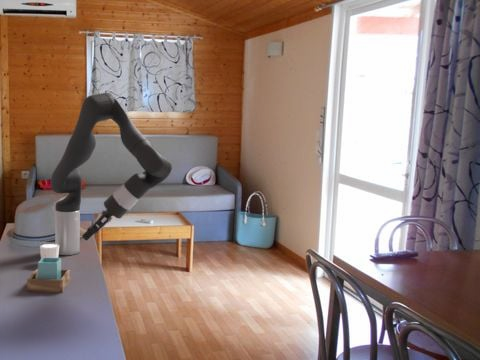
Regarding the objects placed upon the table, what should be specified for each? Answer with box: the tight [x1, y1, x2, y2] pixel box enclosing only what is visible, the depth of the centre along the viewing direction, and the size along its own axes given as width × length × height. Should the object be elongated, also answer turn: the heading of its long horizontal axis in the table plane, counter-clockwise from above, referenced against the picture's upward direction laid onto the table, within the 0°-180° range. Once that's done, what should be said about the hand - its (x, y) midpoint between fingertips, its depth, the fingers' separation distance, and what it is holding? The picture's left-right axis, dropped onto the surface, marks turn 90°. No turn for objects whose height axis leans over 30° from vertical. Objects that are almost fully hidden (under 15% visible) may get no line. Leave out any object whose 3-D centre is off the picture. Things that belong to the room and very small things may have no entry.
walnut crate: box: [26, 268, 71, 294], centre depth 190 cm, size 12×11×4 cm
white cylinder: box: [39, 243, 59, 260], centre depth 213 cm, size 7×7×7 cm
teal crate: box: [37, 257, 62, 280], centre depth 189 cm, size 6×6×8 cm
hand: (86, 234), depth 189 cm, fingers open, 8 cm apart
